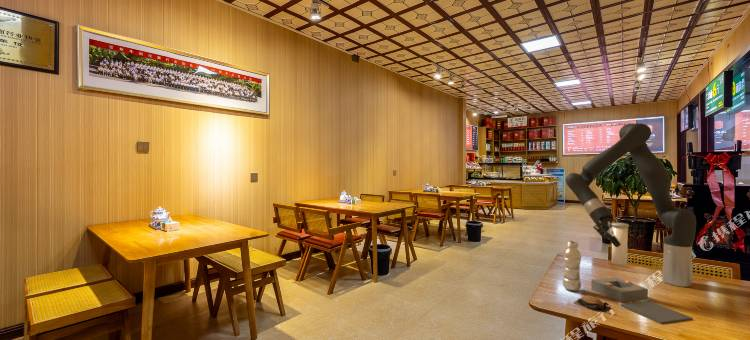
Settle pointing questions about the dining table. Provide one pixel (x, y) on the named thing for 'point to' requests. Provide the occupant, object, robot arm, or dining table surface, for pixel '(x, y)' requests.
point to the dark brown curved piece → (592, 303)
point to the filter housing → (619, 289)
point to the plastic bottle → (572, 267)
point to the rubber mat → (656, 312)
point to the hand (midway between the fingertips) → (624, 245)
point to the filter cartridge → (622, 236)
